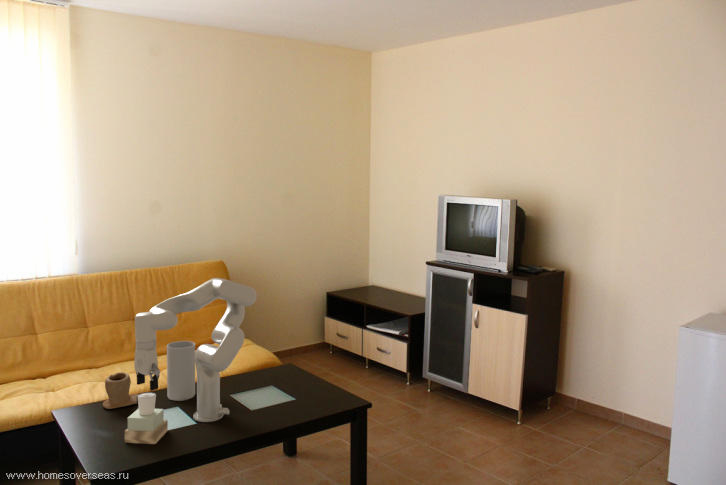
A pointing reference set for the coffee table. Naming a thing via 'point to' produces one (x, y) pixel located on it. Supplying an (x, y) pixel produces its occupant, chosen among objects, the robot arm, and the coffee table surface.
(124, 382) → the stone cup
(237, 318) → the robot arm
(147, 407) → the shot glass
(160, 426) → the oak base block
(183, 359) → the cylinder vase
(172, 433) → the coffee table surface
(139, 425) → the sage top block
